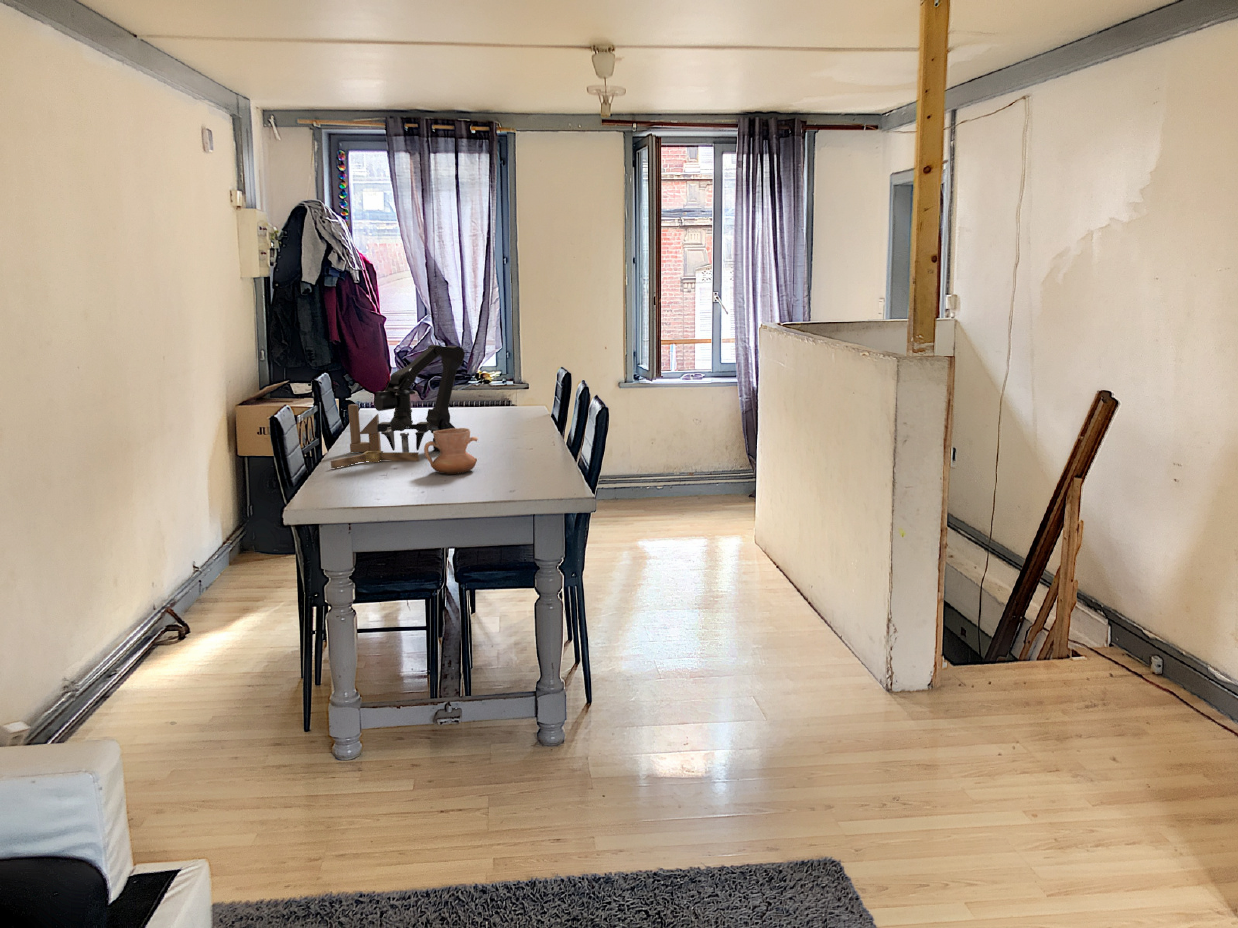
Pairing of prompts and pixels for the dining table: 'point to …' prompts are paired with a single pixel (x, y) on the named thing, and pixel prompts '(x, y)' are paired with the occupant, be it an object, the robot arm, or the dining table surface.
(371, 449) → the wooden block
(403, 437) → the hinge pin
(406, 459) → the tan piece
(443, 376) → the robot arm
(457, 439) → the ceramic jug
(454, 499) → the dining table surface
